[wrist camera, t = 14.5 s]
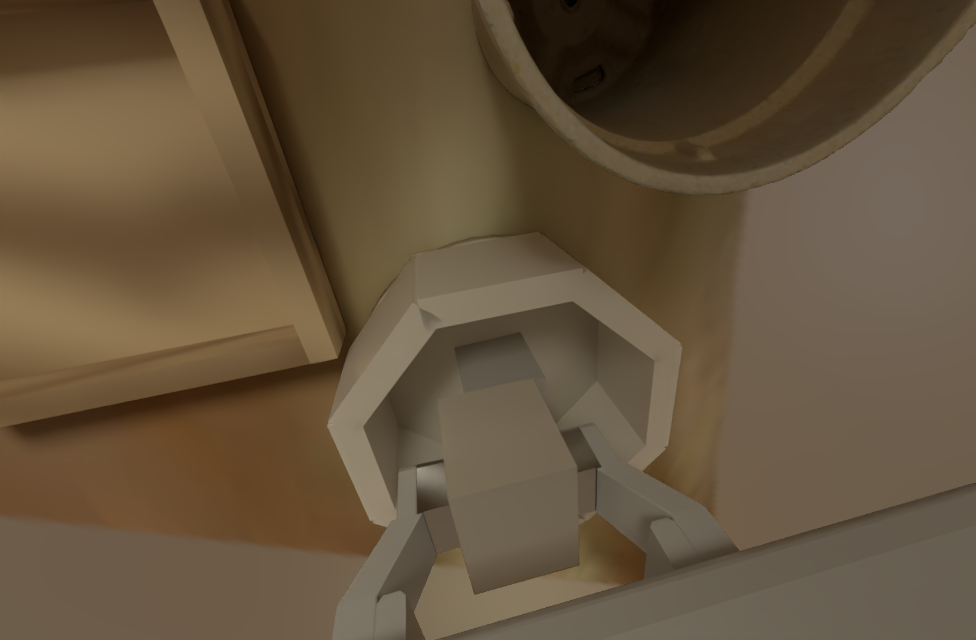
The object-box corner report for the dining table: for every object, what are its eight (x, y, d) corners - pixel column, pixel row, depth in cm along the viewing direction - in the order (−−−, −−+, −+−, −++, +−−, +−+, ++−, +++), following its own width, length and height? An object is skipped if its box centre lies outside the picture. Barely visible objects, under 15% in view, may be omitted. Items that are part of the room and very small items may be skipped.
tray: (-419, 9, 9) (-659, -26, 7) (212, -47, 10) (164, -90, 8) (-20, 403, 14) (-88, 445, 12) (346, 330, 16) (337, 358, 14)
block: (437, 399, 11) (448, 499, 8) (532, 377, 11) (577, 466, 8) (459, 486, 13) (474, 594, 10) (540, 466, 13) (579, 565, 10)
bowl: (322, 264, 14) (282, 325, 10) (613, 212, 16) (697, 245, 11) (397, 473, 20) (394, 574, 15) (606, 423, 21) (659, 502, 17)
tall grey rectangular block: (454, 347, 16) (464, 397, 13) (520, 331, 16) (545, 377, 13) (470, 415, 18) (482, 473, 15) (529, 400, 18) (553, 454, 15)
